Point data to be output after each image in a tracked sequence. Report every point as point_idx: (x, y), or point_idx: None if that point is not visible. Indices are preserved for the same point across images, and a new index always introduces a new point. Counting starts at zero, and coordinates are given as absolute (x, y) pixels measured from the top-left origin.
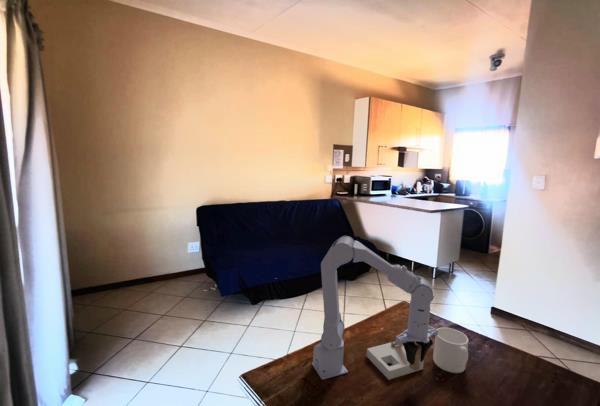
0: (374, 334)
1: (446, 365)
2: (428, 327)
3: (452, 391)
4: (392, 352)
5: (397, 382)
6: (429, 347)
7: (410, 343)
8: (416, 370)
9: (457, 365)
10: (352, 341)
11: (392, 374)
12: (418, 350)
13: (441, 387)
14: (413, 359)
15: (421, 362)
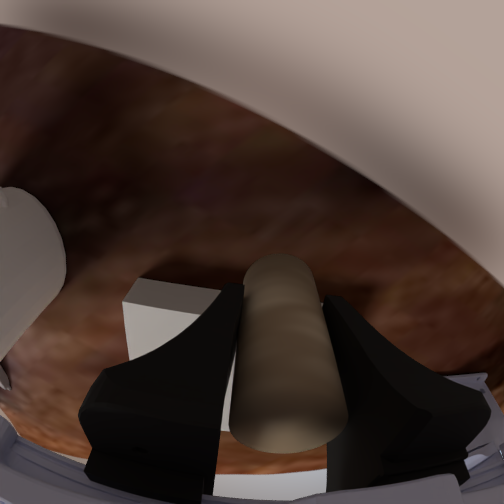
0: None
1: (39, 231)
2: (2, 378)
3: (125, 115)
4: (225, 396)
5: (321, 277)
6: (157, 353)
7: (439, 465)
8: (176, 285)
9: (5, 199)
10: (280, 455)
11: None
12: (320, 375)
13: (150, 155)
14: (357, 319)
15: (137, 300)
